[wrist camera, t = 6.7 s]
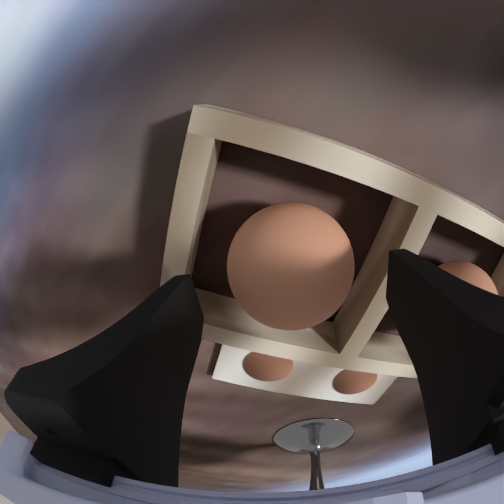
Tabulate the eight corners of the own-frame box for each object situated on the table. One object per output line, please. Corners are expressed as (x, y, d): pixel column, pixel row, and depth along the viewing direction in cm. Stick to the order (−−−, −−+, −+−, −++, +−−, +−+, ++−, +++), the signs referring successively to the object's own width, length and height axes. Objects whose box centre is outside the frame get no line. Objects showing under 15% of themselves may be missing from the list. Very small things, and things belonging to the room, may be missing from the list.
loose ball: (340, 183, 13) (374, 228, 9) (339, 280, 15) (361, 350, 11) (226, 192, 13) (204, 241, 9) (241, 287, 16) (231, 360, 11)
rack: (523, 233, 13) (546, 252, 11) (407, 402, 20) (414, 427, 18) (208, 104, 12) (193, 105, 9) (161, 359, 19) (151, 388, 17)
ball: (484, 257, 14) (531, 308, 10) (443, 324, 16) (475, 381, 12) (424, 232, 14) (474, 287, 9) (382, 310, 16) (409, 377, 12)
